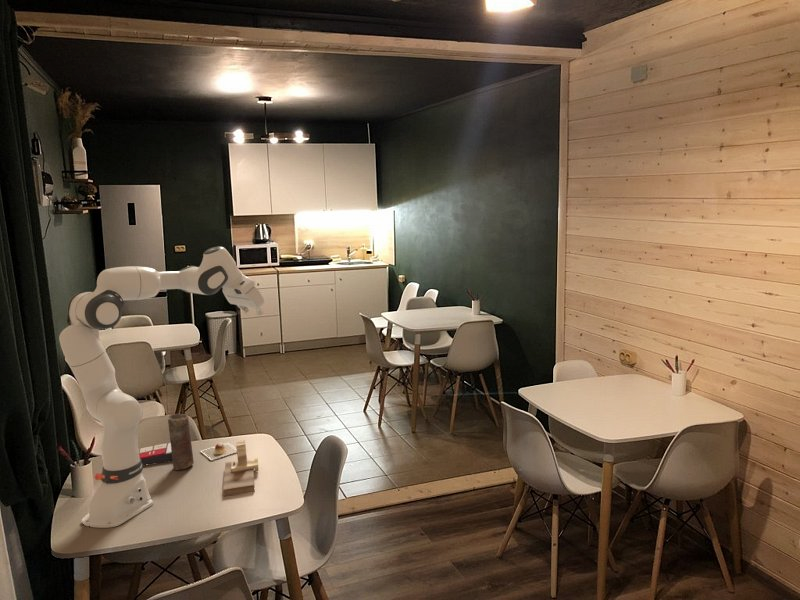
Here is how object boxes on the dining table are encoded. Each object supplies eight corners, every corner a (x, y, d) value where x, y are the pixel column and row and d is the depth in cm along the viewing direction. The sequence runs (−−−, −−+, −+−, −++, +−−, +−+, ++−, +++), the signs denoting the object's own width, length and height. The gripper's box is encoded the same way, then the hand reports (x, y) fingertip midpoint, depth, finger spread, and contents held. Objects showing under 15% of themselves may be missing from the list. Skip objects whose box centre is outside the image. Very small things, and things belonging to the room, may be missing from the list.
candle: (184, 461, 241) (177, 411, 238) (198, 463, 238) (192, 413, 234) (169, 469, 235) (162, 418, 231) (183, 472, 231) (177, 421, 228)
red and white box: (139, 447, 249) (178, 439, 252) (141, 457, 249) (180, 449, 253) (135, 458, 238) (177, 450, 242) (137, 469, 239) (179, 460, 243)
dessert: (199, 453, 249) (198, 442, 248) (228, 444, 256) (227, 433, 255) (211, 463, 240) (209, 451, 239) (240, 453, 247) (239, 441, 246)
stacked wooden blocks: (258, 471, 226) (255, 443, 224) (232, 475, 224) (228, 447, 222) (258, 464, 232) (255, 437, 230) (232, 468, 230) (229, 441, 228)
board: (254, 491, 213) (253, 484, 213) (224, 496, 211) (223, 489, 211) (253, 464, 234) (253, 458, 234) (226, 469, 232) (225, 462, 232)
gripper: (213, 287, 239) (232, 315, 246) (244, 291, 225) (263, 321, 232) (225, 277, 242) (243, 305, 249) (256, 280, 228) (274, 310, 235)
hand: (253, 313), depth 240 cm, fingers open, 8 cm apart
